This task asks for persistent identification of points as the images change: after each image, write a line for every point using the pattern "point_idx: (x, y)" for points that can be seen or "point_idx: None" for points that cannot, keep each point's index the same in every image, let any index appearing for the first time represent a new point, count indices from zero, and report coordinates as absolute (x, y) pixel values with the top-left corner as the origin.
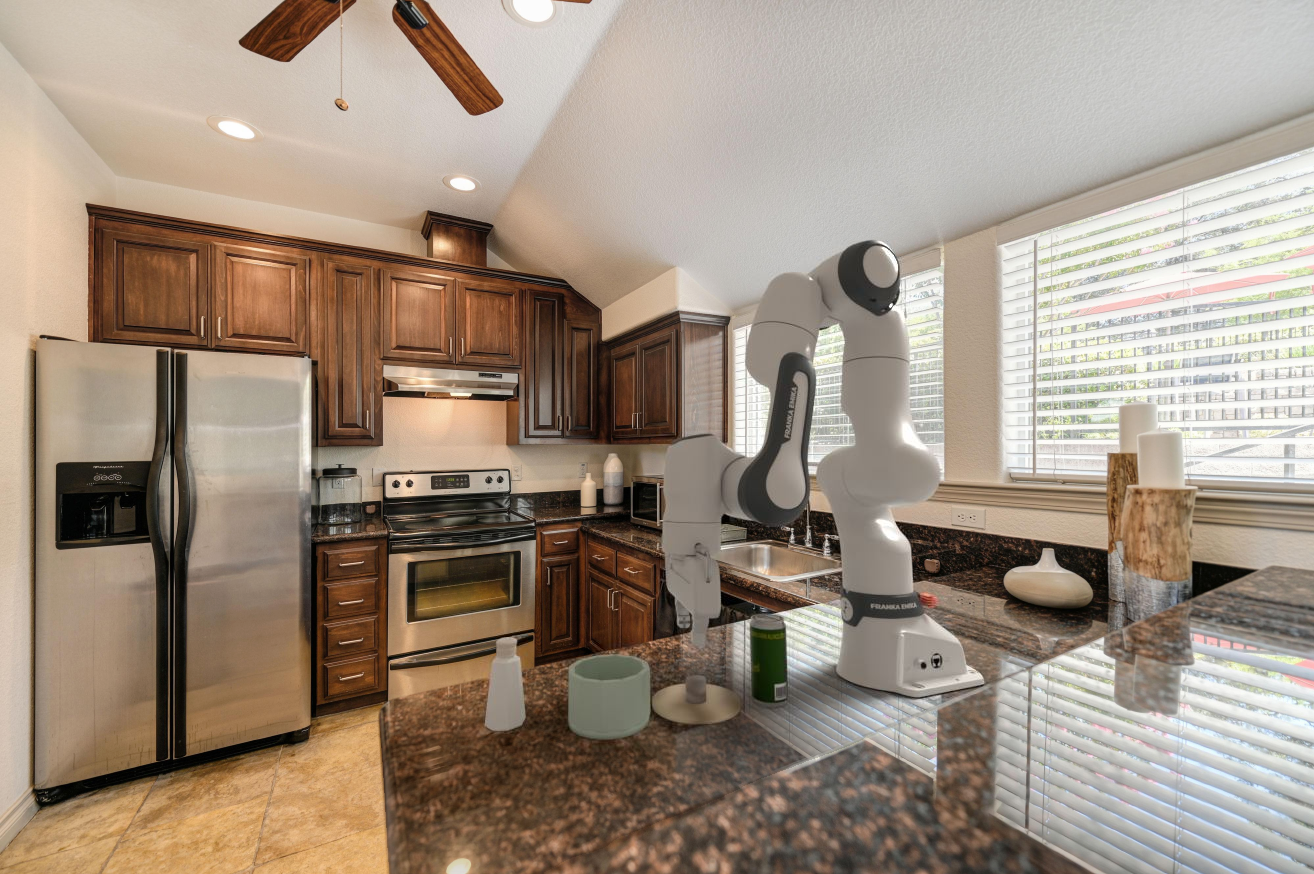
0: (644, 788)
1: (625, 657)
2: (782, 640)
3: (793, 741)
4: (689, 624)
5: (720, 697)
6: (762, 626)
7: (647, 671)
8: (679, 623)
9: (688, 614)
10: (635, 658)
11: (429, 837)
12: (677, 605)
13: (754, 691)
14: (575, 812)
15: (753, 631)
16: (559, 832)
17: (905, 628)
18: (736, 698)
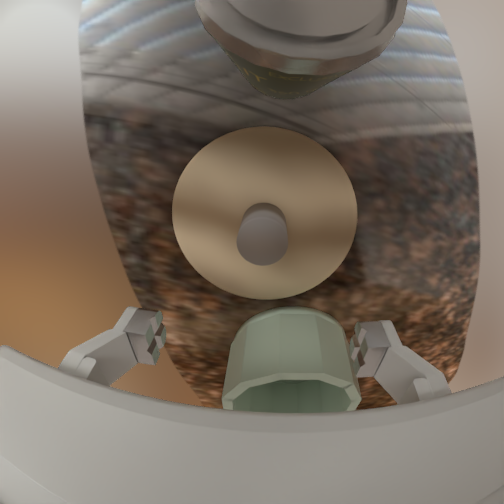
0: (443, 325)
1: (242, 391)
2: None
3: (447, 117)
4: (155, 315)
5: (263, 168)
6: (381, 44)
7: (333, 375)
8: (161, 345)
9: (125, 334)
10: (254, 382)
11: None
12: (110, 381)
13: (296, 97)
14: (435, 365)
15: (327, 76)
16: (445, 370)
17: None
18: (276, 135)
